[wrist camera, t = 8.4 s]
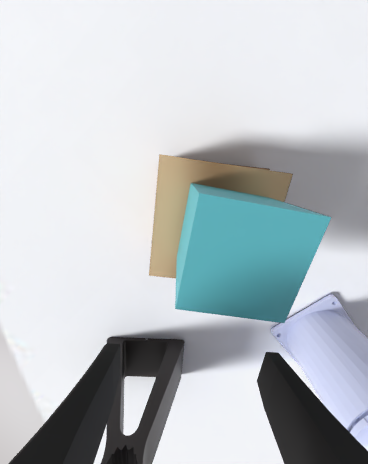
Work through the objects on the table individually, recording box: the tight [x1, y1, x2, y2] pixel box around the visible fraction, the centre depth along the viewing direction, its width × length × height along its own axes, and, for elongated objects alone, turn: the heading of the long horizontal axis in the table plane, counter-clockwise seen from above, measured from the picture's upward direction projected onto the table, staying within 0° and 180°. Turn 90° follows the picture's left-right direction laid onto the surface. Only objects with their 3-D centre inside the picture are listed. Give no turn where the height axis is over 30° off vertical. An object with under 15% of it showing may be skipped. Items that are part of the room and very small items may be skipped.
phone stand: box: [101, 337, 184, 464], centre depth 18 cm, size 9×6×12 cm, turn 85°
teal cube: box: [175, 183, 331, 323], centre depth 10 cm, size 5×5×5 cm
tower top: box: [149, 155, 293, 278], centre depth 14 cm, size 8×8×3 cm
